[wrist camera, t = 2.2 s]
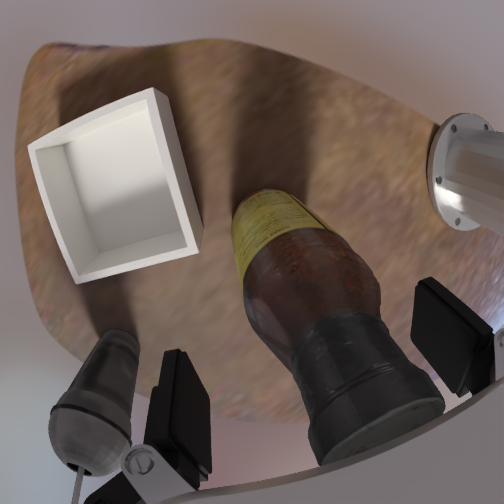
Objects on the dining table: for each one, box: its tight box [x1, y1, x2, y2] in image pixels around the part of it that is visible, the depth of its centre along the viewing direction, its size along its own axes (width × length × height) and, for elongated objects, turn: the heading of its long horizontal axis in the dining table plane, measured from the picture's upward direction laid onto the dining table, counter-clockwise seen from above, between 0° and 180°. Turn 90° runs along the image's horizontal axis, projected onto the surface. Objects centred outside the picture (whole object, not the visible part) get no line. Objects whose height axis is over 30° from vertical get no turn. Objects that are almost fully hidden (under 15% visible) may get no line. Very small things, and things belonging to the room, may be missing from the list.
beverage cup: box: [48, 329, 140, 504], centre depth 19 cm, size 7×7×20 cm
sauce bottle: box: [231, 189, 445, 466], centre depth 15 cm, size 7×6×20 cm
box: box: [27, 87, 204, 285], centre depth 19 cm, size 10×11×5 cm
